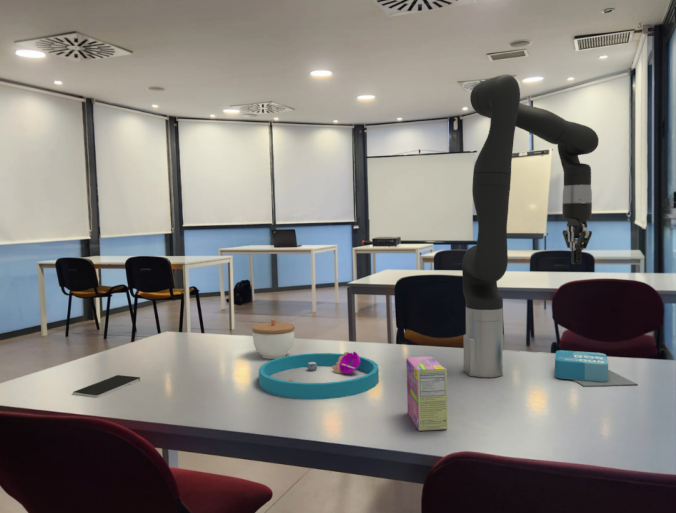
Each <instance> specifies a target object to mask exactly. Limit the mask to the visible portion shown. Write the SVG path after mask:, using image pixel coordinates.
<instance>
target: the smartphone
mask: <svg viewBox="0 0 676 513" xmlns="http://www.w3.org/2000/svg"><path fill="white" fill-rule="evenodd" d="M138 382H141V376H140V377H139V376H131V375H129V376H128V375H122V374H121V375H120V374H117V375H114V376H111V377H108V378H105V379H104V380H101V381H99V382H95V383H93V384H90V385H88V386H84V387H82V388H80V389H77V390H74V391H73V392H72V395H73V396H78V397H79V396H81V397H88V398H95V399H97V398H102V397H104V396H106V395H108V394H110V393H114V392H116V391H119V390H120V389H123V388H124V389H125V388H126V387H128V386H132V385H133V384H136V383H138Z"/></svg>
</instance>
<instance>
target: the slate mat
mask: <svg viewBox="0 0 676 513" xmlns="http://www.w3.org/2000/svg"><path fill="white" fill-rule="evenodd" d="M572 381H573V382H574V383H577V384H578V385H580V386H582V387H583V388H585V387H586V388H590V387H596V388H597V387H620V386H621V387H623V386H638V383H637V382H634V381H632V380H630V379H628V378H626V377H624V376H623V375H620V374H618V373H616V372H615V371H612V370H611V369H608V381H607V382H595V381H584V380H572Z"/></svg>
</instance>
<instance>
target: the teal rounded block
mask: <svg viewBox="0 0 676 513" xmlns="http://www.w3.org/2000/svg"><path fill="white" fill-rule="evenodd" d="M608 370H609V361H608V358H607V354H605V353H602V352H594V351H593V352H592V351H591V352H590V351H577V350H576V351H575V350H563V349H560V350H556V351H555V357H554V377H555V378H558V379H562V380H572V381H573V380H584V381H595V382H607V381H608Z"/></svg>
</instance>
